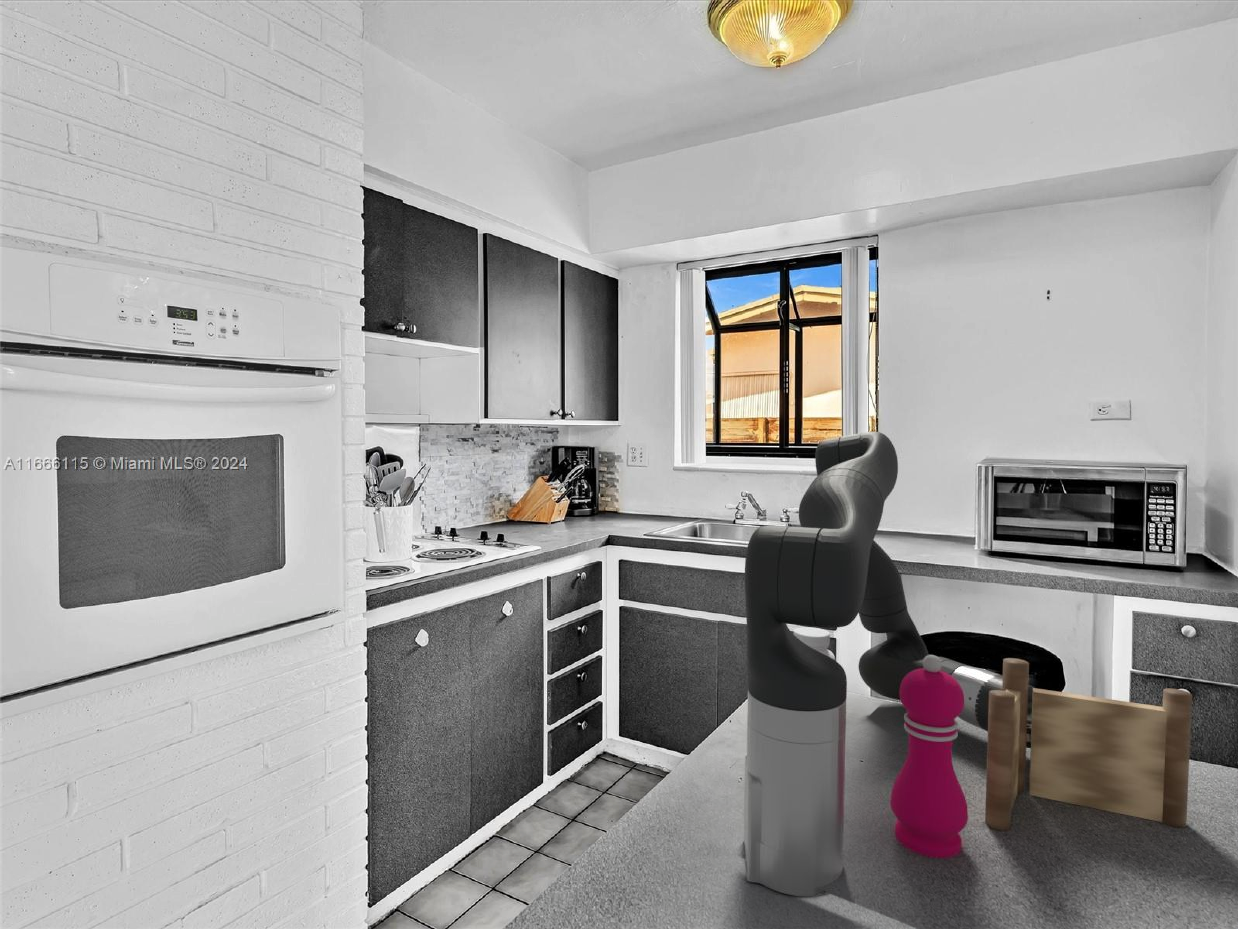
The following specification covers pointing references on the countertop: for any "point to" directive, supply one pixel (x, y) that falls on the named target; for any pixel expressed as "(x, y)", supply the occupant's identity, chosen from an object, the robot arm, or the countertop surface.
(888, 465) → the robot arm
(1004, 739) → the fixed panel
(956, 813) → the pepper mill
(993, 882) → the countertop surface
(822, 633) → the supplement bottle
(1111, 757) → the swing panel
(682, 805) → the countertop surface
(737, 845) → the countertop surface
